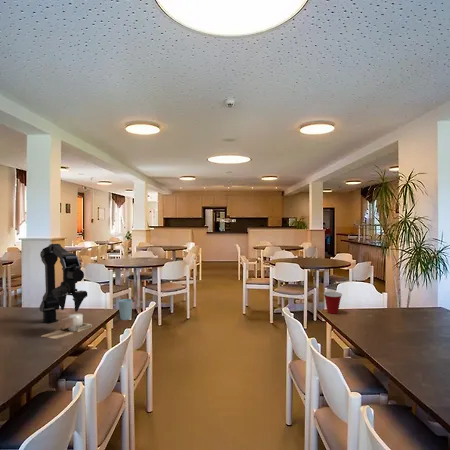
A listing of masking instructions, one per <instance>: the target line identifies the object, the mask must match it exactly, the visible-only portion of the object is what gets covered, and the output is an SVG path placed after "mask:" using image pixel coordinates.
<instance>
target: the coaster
mask: <svg viewBox="0 0 450 450" xmlns="http://www.w3.org/2000/svg"><path fill="white" fill-rule="evenodd" d="M73 334H74V332H73V331H64V330H54V331H51V332H47V333H45V334H42V335H40V337H42V338H45V339H51V340H52V339H53V340H58V339H61V338H65V337H66V336H70V335H73Z"/></svg>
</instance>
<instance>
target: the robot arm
mask: <svg viewBox="0 0 450 450" xmlns="http://www.w3.org/2000/svg"><path fill="white" fill-rule="evenodd" d="M39 255H40V258H41V260H40V261H41V262H42V263H43V264H44V271H45V273H44V278H45V279H44V280H45V293H44V295H43V296H42V300H41V303H40V305H39V311H40V312H42V320H41V321H40V322H41V323H45V324H51V323H54V322H58V321H59V319H57V311H58V310H61V311H64V310H65V306H66V301H67V296H72V301H73V302H74V311H75V313H76V312H78V310H80V307H81V305H82V303H83V301H84V299H86V297H88V292H87V290H78V288H76V286H77V285H76V284H77V283H78V282H81V281H82V280H83V279H84V277H85V273H84V271H83V270H82V269H81V268H82V266H81V265H82V264H81V262H80V259H79V257H78V255H77V254H76V253H74V252H69V251H67V250H66V249H65V248H64V247H63V246H61V244H60V243H51V244H48V246H46V247H44V248H42V250H41V251H40V254H39ZM58 260H59V263H60V264H61V266H62V268H61V270H62V281H61V282H60V285H58V286H57V287H56V272H55V271H56V270H55V265H56V264H57V262H58Z"/></svg>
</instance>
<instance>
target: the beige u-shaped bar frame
mask: <svg viewBox="0 0 450 450" xmlns="http://www.w3.org/2000/svg"><path fill="white" fill-rule="evenodd" d="M92 327H93V325H92V324H91V323H85V322H83V327H81V328H78V329H77V331H76V333H80V332H83V331H84V330H85V331H86V330H88V329H91V328H92ZM61 329H62V331H64V330H66V329H67V330H68V328H61Z"/></svg>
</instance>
